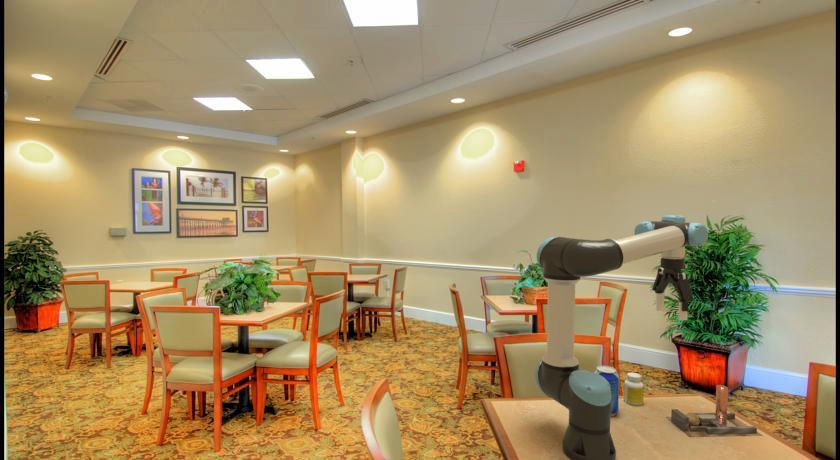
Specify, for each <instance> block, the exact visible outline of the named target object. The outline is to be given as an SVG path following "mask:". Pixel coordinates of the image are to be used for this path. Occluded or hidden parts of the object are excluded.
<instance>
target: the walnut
mask: <svg viewBox="0 0 840 460" xmlns="http://www.w3.org/2000/svg"><path fill="white" fill-rule="evenodd" d="M694 413H695V412H687V413H685V414H684V415H686V416H687V417H688V418H689V426H698V425H699V422H700V421H699V418H698V416H697V415H696V414H694Z"/></svg>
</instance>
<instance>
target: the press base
mask: <svg viewBox="0 0 840 460" xmlns="http://www.w3.org/2000/svg"><path fill="white" fill-rule="evenodd" d="M693 413H694V414H696V415H715V412H693ZM665 419H667V420H668V421H669V422H670V423H672V424H673V425H675V426H676V427H677V428H678V429H679V430H681V432H683V433H684V434H685V435H686V436H688V437H689V438H708V437H709V438H710V437H711V438H714V437H715V438H719V437H761V436H762V437H763V436H764V435H763V434H761V433H760V432H758V428H757V427H756V426H754V425H750V426H749V425H748V424H746V423H745V422H743V421H741V420H740V419H738V418H736V413H734V412H727V420H728V421H729V422H731V423H732V424H734V425H735V426H736V427H713V426H712V425H711V424H701V423H700V422H699V425H698V426H689V418H688V417H687V416H686V415H685V414H684V412H681V411H680V410H679V409H678V408H677V409H673V408H671V416H665Z"/></svg>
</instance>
